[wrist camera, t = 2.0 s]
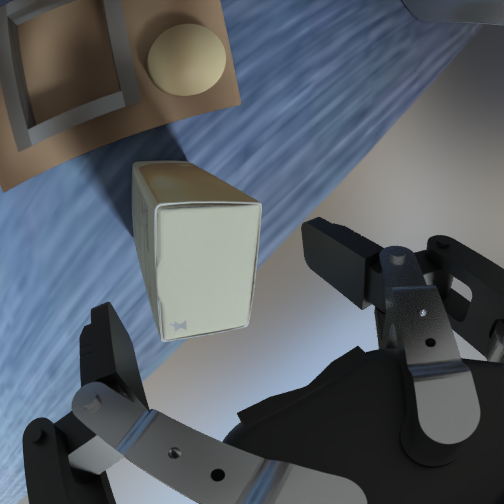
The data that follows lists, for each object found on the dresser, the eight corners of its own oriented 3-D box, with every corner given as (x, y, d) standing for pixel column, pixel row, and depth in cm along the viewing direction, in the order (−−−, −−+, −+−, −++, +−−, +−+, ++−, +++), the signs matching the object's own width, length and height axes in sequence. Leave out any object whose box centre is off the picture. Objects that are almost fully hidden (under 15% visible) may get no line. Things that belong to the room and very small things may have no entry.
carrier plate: (206, -32, 15) (223, -51, 12) (235, 104, 21) (256, 104, 18) (-26, 44, 10) (-46, 35, 7) (8, 188, 16) (-9, 203, 13)
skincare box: (186, 236, 24) (250, 333, 14) (132, 241, 22) (160, 349, 13) (190, 155, 22) (268, 201, 12) (131, 156, 20) (153, 205, 10)
